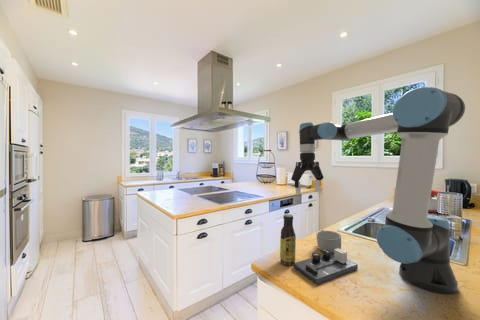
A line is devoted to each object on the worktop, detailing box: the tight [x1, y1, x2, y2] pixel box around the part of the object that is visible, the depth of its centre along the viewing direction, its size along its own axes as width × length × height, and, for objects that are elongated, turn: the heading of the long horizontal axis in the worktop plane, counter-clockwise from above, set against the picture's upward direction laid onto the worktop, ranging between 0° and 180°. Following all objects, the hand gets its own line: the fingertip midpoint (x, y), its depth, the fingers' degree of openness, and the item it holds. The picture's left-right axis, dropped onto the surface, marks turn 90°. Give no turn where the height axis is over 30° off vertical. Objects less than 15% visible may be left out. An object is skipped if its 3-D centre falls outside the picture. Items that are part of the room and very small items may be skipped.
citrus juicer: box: [428, 189, 442, 213], centre depth 164 cm, size 16×17×20 cm
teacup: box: [315, 229, 342, 253], centre depth 96 cm, size 14×11×8 cm
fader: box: [334, 248, 348, 263], centre depth 81 cm, size 4×2×4 cm, turn 26°
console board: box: [292, 250, 359, 286], centre depth 80 cm, size 12×22×4 cm, turn 116°
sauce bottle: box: [279, 214, 297, 266], centre depth 85 cm, size 6×6×20 cm
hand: (308, 193), depth 105 cm, fingers open, 13 cm apart
